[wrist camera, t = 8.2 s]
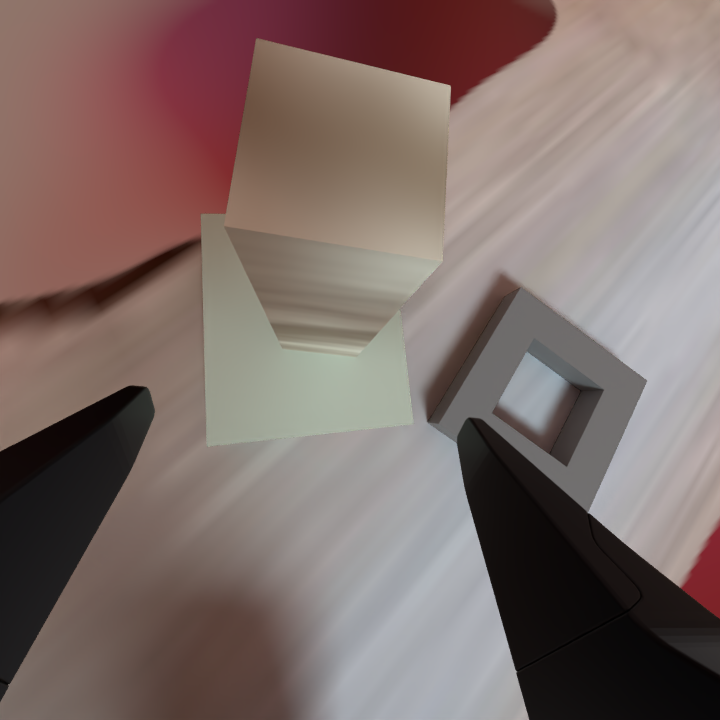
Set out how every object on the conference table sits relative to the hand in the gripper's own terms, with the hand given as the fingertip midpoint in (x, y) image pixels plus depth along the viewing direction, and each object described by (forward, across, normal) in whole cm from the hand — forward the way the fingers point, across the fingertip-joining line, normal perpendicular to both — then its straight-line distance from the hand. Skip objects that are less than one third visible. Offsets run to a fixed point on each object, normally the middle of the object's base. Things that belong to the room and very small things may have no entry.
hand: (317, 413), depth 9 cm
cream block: (+11, 0, +3) cm, 11 cm away
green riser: (+13, +1, +5) cm, 14 cm away
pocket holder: (+11, -16, +7) cm, 21 cm away
